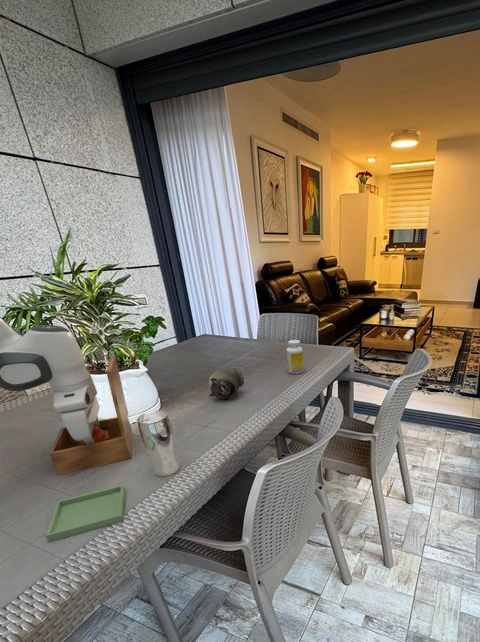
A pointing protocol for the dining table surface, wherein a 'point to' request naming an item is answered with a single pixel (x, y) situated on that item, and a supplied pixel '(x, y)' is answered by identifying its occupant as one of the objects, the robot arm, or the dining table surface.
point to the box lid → (117, 394)
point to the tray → (87, 512)
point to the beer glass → (159, 441)
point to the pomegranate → (98, 435)
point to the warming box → (91, 449)
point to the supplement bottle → (295, 357)
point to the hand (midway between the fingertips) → (95, 438)
